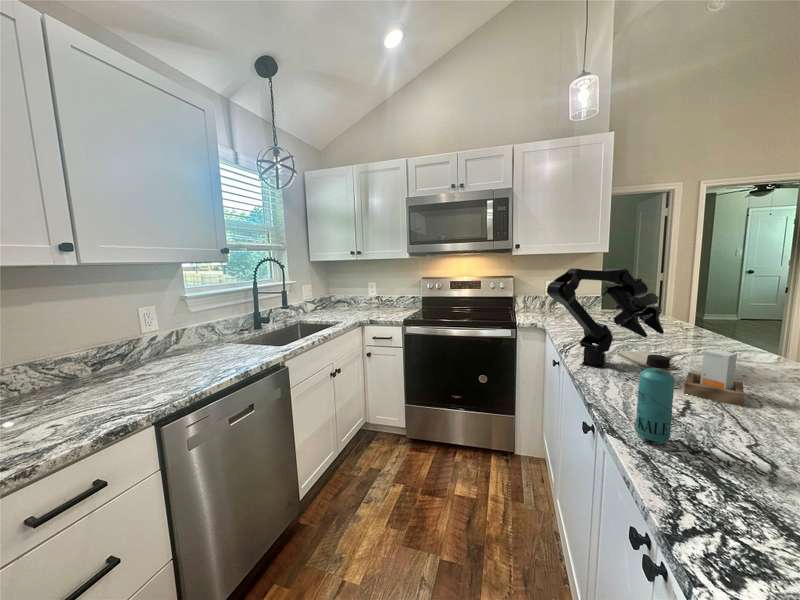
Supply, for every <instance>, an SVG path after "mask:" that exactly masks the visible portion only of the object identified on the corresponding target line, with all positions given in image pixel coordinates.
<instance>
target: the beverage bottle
mask: <svg viewBox="0 0 800 600" xmlns="http://www.w3.org/2000/svg"><path fill="white" fill-rule="evenodd" d="M670 361H671V360H670V358H669V357H668V356H665V355H661V354H658V355H648V357H647V361H646V364H647V365H648V366H651V367H654V368H647V369H642V371H640V372H639V373H638V374H639V381H638V382H639V383H638V389H637V402H636V403H637V405H636V409H635V411H636V415H635V423H634V426H635V432H636V434H637V435H639V437H641V438H643V439H645V440H649V441H652V442H657V443H665V442H668V441H669V440H670V439H671V433H672V428H673V427H672V425H673V424H672V422H673V402H674V391H675V382H676V378H675V377H674V375H672V374H671V373H670V372H669V371H668V370H662V369H668V368H670ZM656 368H661V369H656Z"/></svg>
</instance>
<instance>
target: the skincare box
mask: <svg viewBox="0 0 800 600" xmlns="http://www.w3.org/2000/svg"><path fill="white" fill-rule="evenodd" d="M737 358H738V353H734V352H729V351H724V350H721V349H720V350H719V349H713V348H707V349H705V350H703V355H702V365H701V372H700V374H701V380H700V384H701V385H706V386H711V387H716V388H722V389H727V390H732V391H733V383H734V380H735V374H736V373H735V372H736V368H737V367H736V365H737Z"/></svg>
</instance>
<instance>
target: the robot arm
mask: <svg viewBox="0 0 800 600" xmlns="http://www.w3.org/2000/svg"><path fill="white" fill-rule="evenodd" d="M582 280H584V281H585V280H586V281H589V280H590V281H600V282H603V283H607V284H612V285H613V286H608V285H606V286H605V287H604V288H603V291H602V294H601V295H602V296H607V295H608V296H609V297H610V299H611V300H612V301H613V302H614V303H615V304H616V306H615V308H616V310H620V313H618V314H616V315H615V316H614V317H613V323H614V324H615V325H616V326H620V327H621V328H625V329H627V330H629V331H631V332H633V333H635V334H637V335H638V336H641V337H643V338H647V337H648V334H647V331H645V329H644V328H643V326H642V325H641V323H640V322H639V319H640V320H641V321H642V323H643V324H645V325H646V326H647V327H650V328H651V329H652V330H653V331H655V332H656V333H658V334H660V335H663V334H664V333H665V331H664V329H663V327H662V324H661V321H660V318H659V317H660V315H661V313H662V311H663V310H662V309H661V308H660V306H656V305H654V304H659V296H657V294H655V293H653V292H651V293H650V292H649V293H648V290H649V289H648V286H647V284H646V283H645V282H644V281H643V280H642V278H640V277H639V278H638V277H636V278H634V277H633V276H632V275H631V274H630V272H629V270H628V269H627V268H607V269H602V270H595V269H593V270H592V269H582V268H575V267H574V268H570V269H567V271H566V272H565V273H563V274H562V275H560V276H558V277H557V278H555V279H554V280H553V281H552V282H550V283H549V284H548V285H547V288H546V293H547V296H549V297H550V298H552V300H554V301H555V302H558V303H560V304H561V305H562V306H563V307H564V308H565V309H566V310H567V311H568V313H569V314H570V315H571V316H572V317H573V318H574V320H575V321H576V322H577V323H578V324H579V326H580V327H581V328H582V329H583V335H584V336H583V337H582V338H581V340H580V341H579V344H580V347H581V348H582V347H583V360H582V363H581V365H582V366H588V367H593V368H597V369H602V368H603V367H604V366H605V365H606V364H607V363H606V362H607V353H606V352H609V350H610V348H611V345H612V342H613V337H614V335H613V334H612V333H613V331H612V330H610V329H609V327H608V326H607V324H605V323H604V324H603V323H600V322H596V320H594V319H593V318H592V316H591V315H590V314H589V313H588V311H587V310H586V309H585V308H584V307H583V305H582V304H581V302H580V301H578V299H577V298H576V290H577V289H578V287H579V285H580V283H581V281H582ZM647 293H648V294H647ZM650 305H652V306H650Z"/></svg>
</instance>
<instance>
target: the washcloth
mask: <svg viewBox="0 0 800 600" xmlns="http://www.w3.org/2000/svg"><path fill="white" fill-rule="evenodd" d="M616 355H617V357H620V358H621V357H622V359H624V360H625V361H627V362H629V363H631V364H633V365H634V366H637V367H639V368H640V369H642V370H645V369H647V368H654V367H651V366H648V365H647V364H646V361H647V357H648V355H659V354H657V353H655V352H652V351H650V350H636V351H635V350H634V351H626V350H625V351H621V350H620V351H618V352H617V353H616ZM656 369H661V368H656ZM662 370H665V371H675V370H677V367H676V365H675V362H672V361H671V360H670V368H668V369H662Z"/></svg>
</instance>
